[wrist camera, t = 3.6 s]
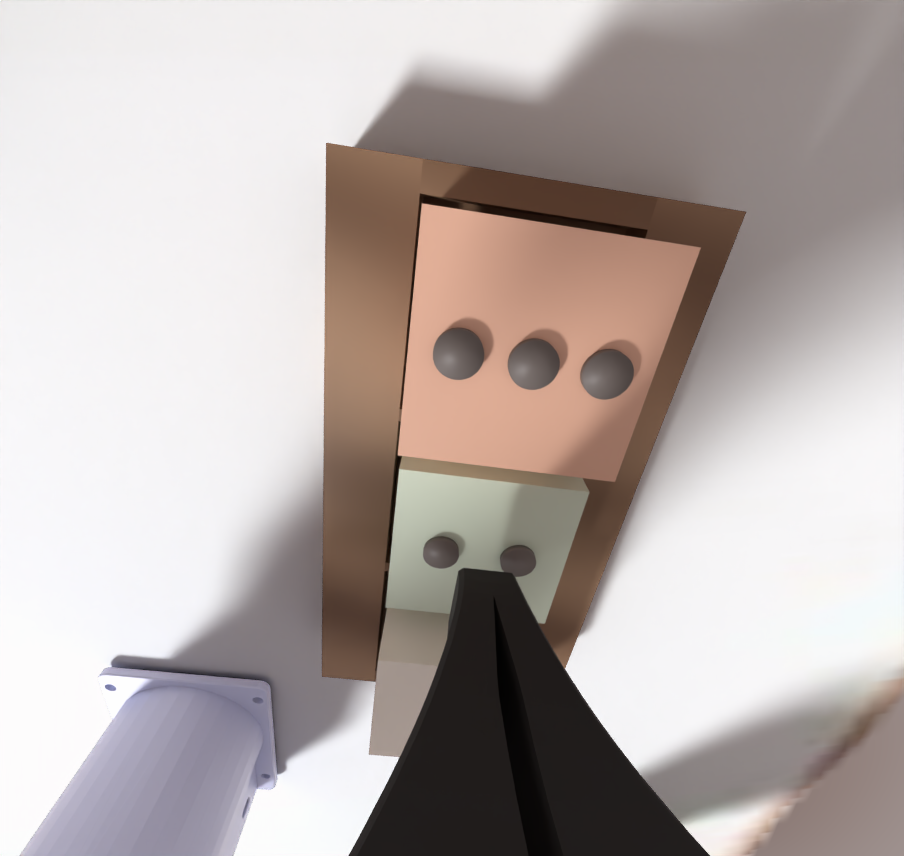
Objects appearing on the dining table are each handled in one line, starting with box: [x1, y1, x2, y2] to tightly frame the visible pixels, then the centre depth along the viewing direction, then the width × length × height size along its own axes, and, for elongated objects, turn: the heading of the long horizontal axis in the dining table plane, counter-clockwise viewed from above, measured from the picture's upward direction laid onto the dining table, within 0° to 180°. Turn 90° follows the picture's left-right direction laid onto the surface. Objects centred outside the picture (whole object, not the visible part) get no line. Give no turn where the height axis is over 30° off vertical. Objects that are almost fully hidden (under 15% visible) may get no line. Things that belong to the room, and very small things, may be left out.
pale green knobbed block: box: [385, 456, 589, 624], centre depth 13 cm, size 5×5×3 cm
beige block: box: [369, 608, 450, 757], centre depth 15 cm, size 5×5×3 cm
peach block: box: [398, 203, 701, 482], centre depth 10 cm, size 5×5×3 cm
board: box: [322, 143, 746, 682], centre depth 15 cm, size 19×10×2 cm, turn 172°
